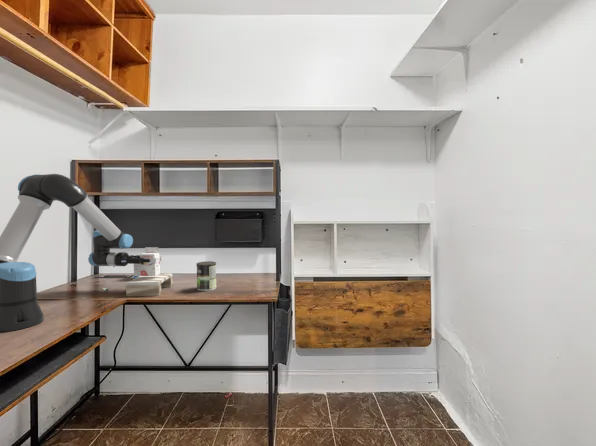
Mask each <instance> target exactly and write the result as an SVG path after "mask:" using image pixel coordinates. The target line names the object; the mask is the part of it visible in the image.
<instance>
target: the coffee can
mask: <svg viewBox="0 0 596 446" xmlns="http://www.w3.org/2000/svg"><path fill="white" fill-rule="evenodd" d="M216 289H217V262H216V261H212V260H211V261H208V260H207V261H199V262H196V290H197V291H201V292H209V291H213V290H216Z"/></svg>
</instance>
